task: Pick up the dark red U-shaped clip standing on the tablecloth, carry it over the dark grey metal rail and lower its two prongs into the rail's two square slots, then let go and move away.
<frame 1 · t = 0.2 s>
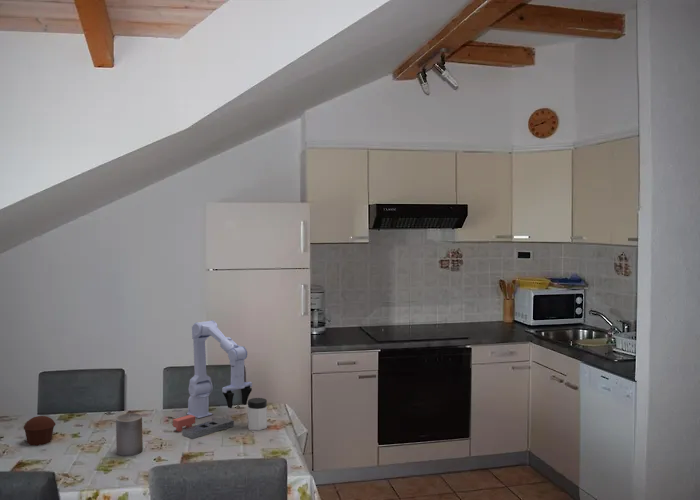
hand: (237, 405, 281), 10 cm above the table, tool pointing down, fingers open, 7 cm apart
pillar candle: (129, 452, 253), on the table
clip: (184, 429, 280), on the table
rail: (208, 430, 279), on the table
jar: (257, 427, 284), on the table
muffin: (39, 442, 262), on the table
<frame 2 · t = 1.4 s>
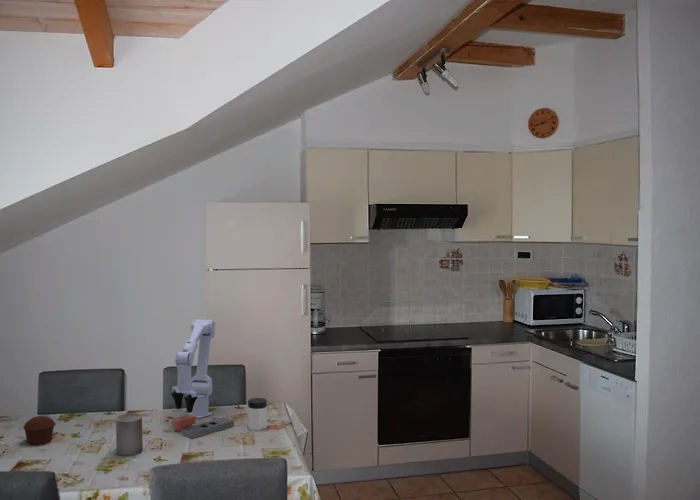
hand: (184, 410, 279), 8 cm above the table, tool pointing down, fingers open, 7 cm apart
nothing on the table moved.
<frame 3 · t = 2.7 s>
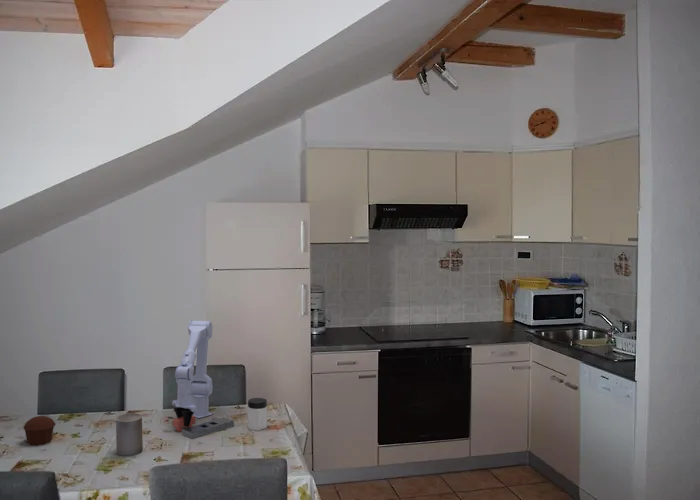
hand: (184, 424, 280), 2 cm above the table, tool pointing down, fingers closed on clip, 3 cm apart
clip: (184, 429, 280), on the table, touching gripper
everything else where it was.
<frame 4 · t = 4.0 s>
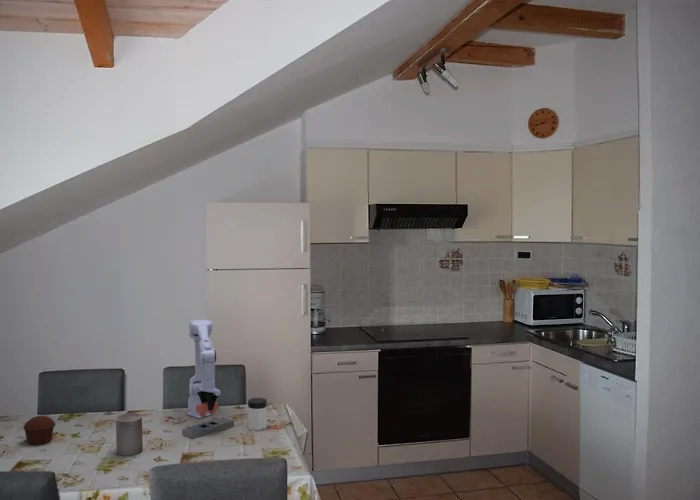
hand: (207, 408, 278), 9 cm above the table, tool pointing down, fingers closed on clip, 3 cm apart
clip: (207, 414, 278), point 7 cm above the table, touching gripper
everything else where it was.
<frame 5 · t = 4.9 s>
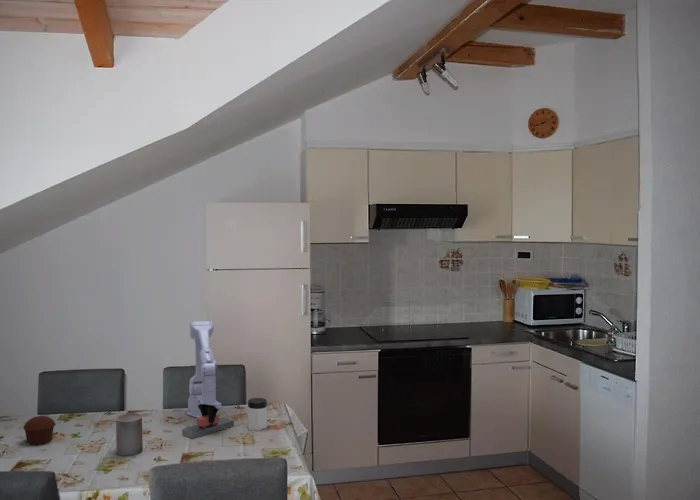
hand: (208, 421, 279), 4 cm above the table, tool pointing down, fingers closed on clip, 3 cm apart
clip: (208, 427, 278), point 1 cm above the table, touching gripper
everything else where it was.
when the fingers open (3 cm above the table, at t = 5.3 s): clip stays where it is, resting on rail.
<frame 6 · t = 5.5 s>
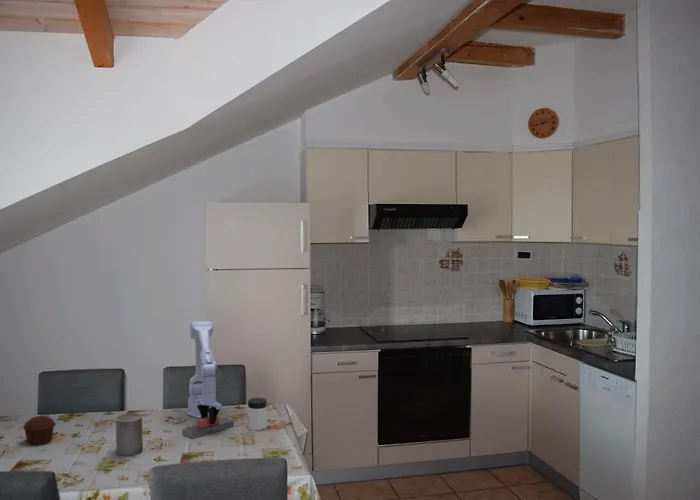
hand: (208, 422, 279), 4 cm above the table, tool pointing down, fingers open, 5 cm apart
clip: (208, 429, 279), resting on rail
everything else where it was.
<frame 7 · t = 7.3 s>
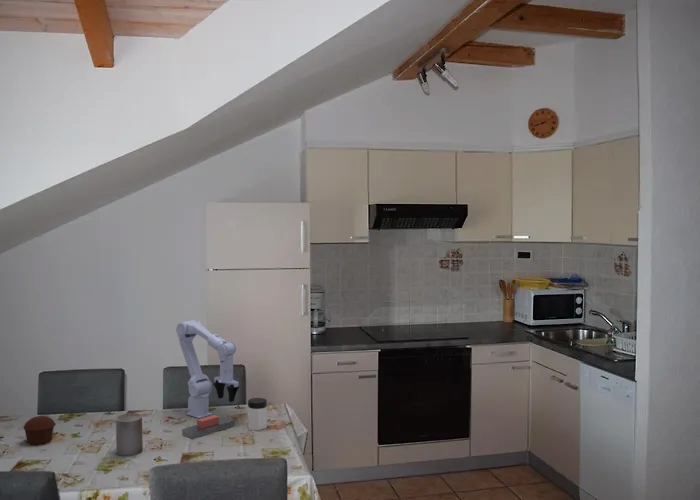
hand: (226, 399, 291), 10 cm above the table, tool pointing down, fingers open, 7 cm apart
nothing on the table moved.
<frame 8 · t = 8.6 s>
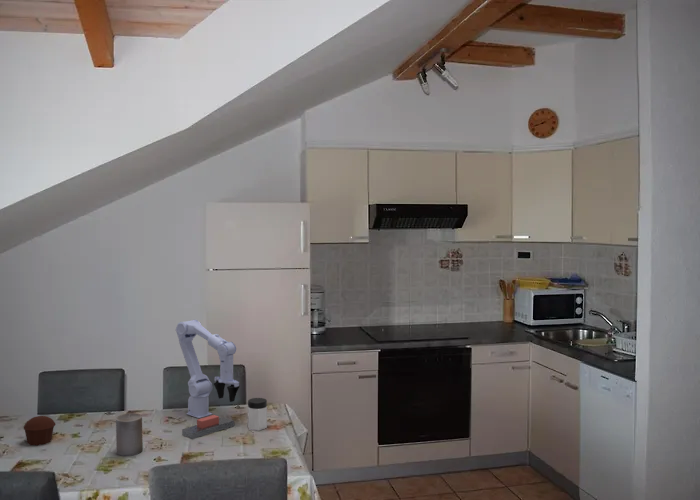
hand: (226, 399, 291), 10 cm above the table, tool pointing down, fingers open, 7 cm apart
nothing on the table moved.
at the end: clip 0.3 cm off-centre on the rail, point 0.5 cm above the rail's base; clip tilted 0°; the gripper is holding nothing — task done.
